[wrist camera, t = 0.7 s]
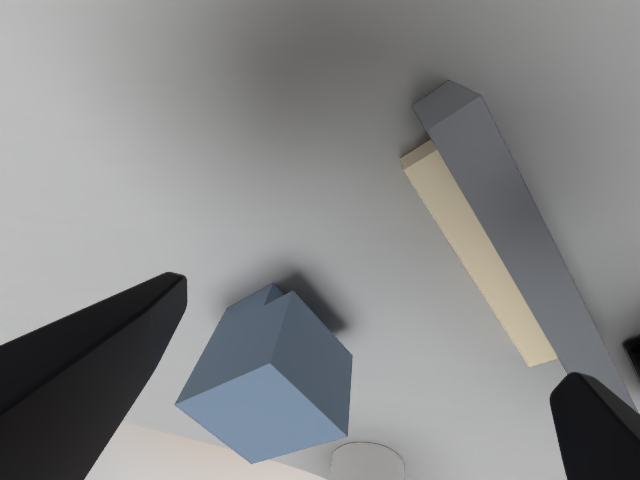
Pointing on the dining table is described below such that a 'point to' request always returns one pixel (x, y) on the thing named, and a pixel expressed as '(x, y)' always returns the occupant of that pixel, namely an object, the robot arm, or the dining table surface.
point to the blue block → (270, 379)
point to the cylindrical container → (366, 463)
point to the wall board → (503, 235)
